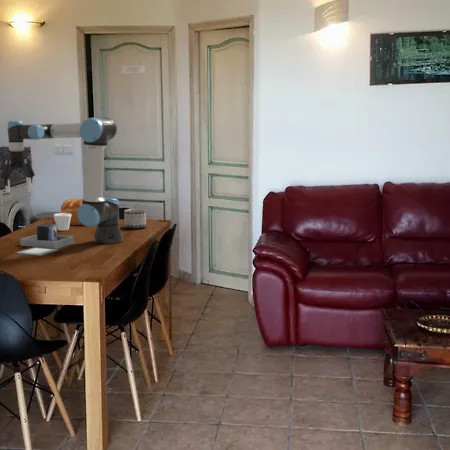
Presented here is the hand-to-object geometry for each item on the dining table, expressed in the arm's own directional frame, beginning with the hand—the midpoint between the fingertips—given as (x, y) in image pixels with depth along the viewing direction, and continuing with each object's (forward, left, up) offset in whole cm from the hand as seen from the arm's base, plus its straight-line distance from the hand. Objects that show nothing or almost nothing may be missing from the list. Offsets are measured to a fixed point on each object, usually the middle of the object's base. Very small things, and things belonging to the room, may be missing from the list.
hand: (18, 190), depth 348 cm
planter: (-38, -56, -26) cm, 73 cm away
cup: (-4, -32, -26) cm, 42 cm away
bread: (-1, -56, -26) cm, 62 cm away
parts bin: (-22, +6, -26) cm, 34 cm away
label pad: (-29, +23, -26) cm, 45 cm away
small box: (-22, +6, -26) cm, 35 cm away
